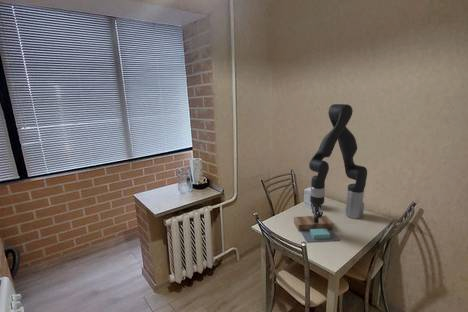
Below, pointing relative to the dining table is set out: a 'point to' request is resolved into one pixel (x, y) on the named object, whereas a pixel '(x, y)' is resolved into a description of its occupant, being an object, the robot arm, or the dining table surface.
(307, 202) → the small box
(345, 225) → the dining table surface
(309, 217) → the brown wooden tray
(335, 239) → the mat
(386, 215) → the dining table surface
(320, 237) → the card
